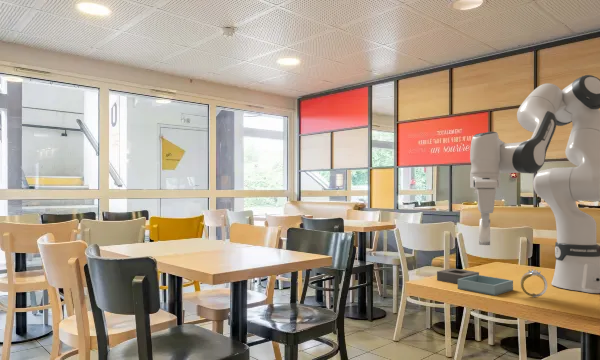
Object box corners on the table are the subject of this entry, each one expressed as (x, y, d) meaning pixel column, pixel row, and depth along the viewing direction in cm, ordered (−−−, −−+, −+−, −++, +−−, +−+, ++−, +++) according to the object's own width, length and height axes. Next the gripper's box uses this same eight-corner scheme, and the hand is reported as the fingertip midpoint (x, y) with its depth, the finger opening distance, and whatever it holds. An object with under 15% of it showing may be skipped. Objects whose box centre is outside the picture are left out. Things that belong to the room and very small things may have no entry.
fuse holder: (452, 276, 162) (452, 268, 162) (479, 281, 154) (479, 272, 154) (437, 280, 155) (437, 271, 155) (463, 284, 148) (463, 275, 148)
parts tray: (476, 283, 150) (476, 274, 150) (513, 290, 141) (513, 280, 141) (457, 288, 142) (457, 279, 142) (494, 295, 133) (494, 285, 133)
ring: (546, 297, 132) (546, 269, 132) (548, 299, 129) (548, 271, 129) (520, 294, 134) (520, 268, 134) (521, 297, 131) (521, 269, 131)
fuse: (487, 244, 143) (488, 219, 143) (491, 245, 140) (491, 219, 140) (477, 243, 143) (478, 218, 144) (480, 244, 140) (481, 219, 140)
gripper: (473, 183, 153) (473, 223, 153) (475, 182, 134) (475, 228, 133) (493, 183, 151) (493, 224, 150) (498, 182, 131) (498, 229, 131)
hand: (485, 226), depth 142 cm, fingers closed on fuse, 3 cm apart
